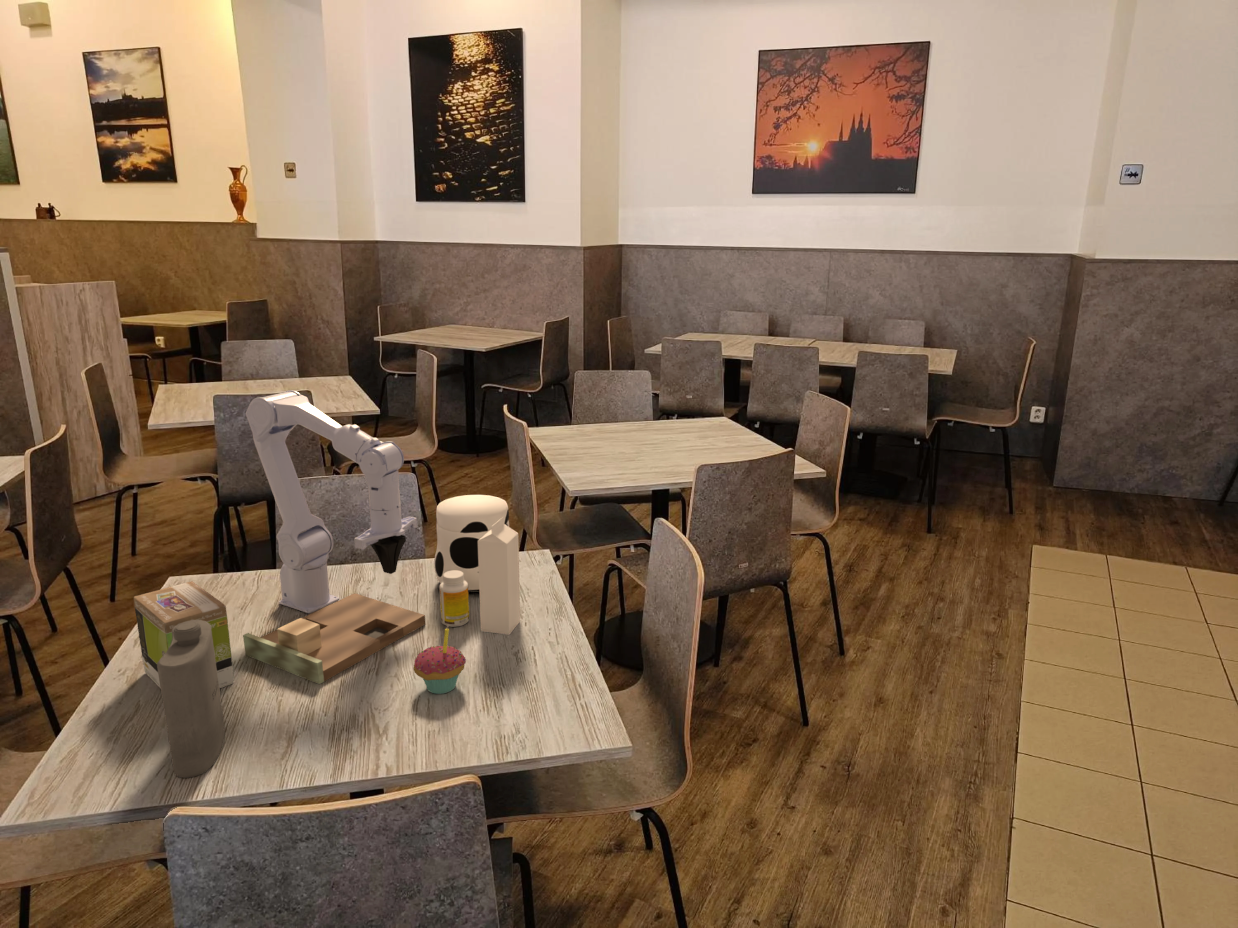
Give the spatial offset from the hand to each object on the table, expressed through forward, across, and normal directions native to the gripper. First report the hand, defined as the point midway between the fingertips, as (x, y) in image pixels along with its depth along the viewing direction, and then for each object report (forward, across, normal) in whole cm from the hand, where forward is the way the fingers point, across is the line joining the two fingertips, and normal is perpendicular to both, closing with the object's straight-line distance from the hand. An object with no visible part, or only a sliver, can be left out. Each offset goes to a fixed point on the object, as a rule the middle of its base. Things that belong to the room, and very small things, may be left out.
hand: (389, 571), depth 159 cm
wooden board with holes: (+10, -10, +3) cm, 15 cm away
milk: (+11, +9, -20) cm, 24 cm away
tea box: (+11, -34, +14) cm, 38 cm away
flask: (+11, -45, -6) cm, 47 cm away
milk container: (+11, +23, -2) cm, 25 cm away
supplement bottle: (+11, +6, -11) cm, 16 cm away
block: (+8, -20, +3) cm, 22 cm away
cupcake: (+11, -14, -25) cm, 31 cm away
